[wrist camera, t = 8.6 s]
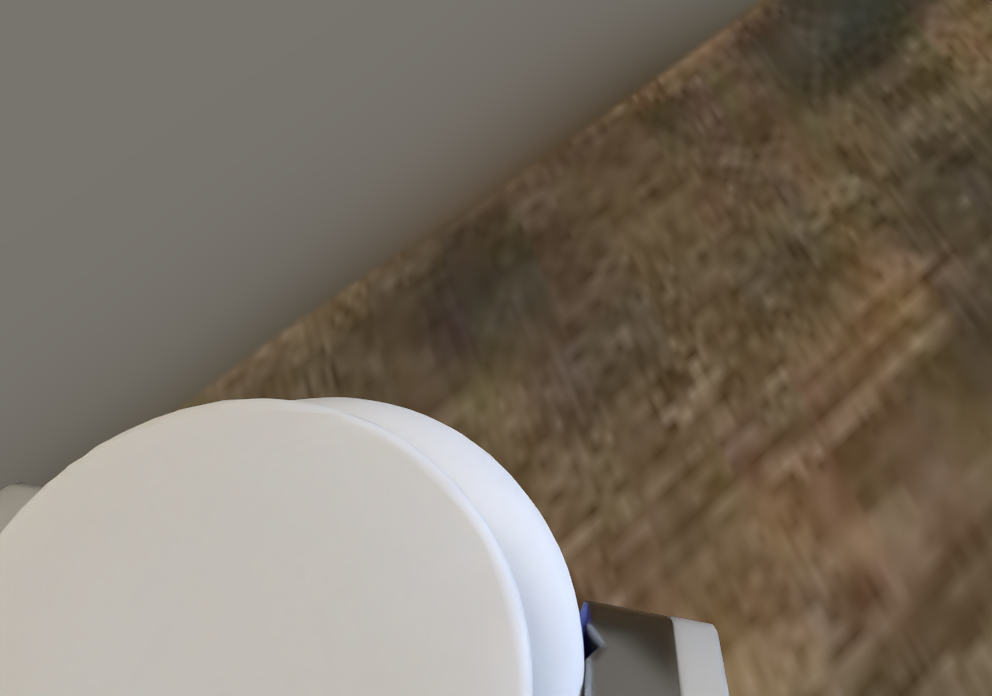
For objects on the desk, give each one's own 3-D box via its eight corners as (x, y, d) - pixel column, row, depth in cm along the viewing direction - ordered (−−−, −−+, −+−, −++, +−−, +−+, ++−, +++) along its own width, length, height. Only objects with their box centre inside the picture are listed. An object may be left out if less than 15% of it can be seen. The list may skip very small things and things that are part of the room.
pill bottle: (340, 442, 15) (115, 184, 6) (586, 561, 15) (755, 475, 5) (191, 710, 14) (-427, 916, 4) (460, 859, 13) (393, 1479, 4)
